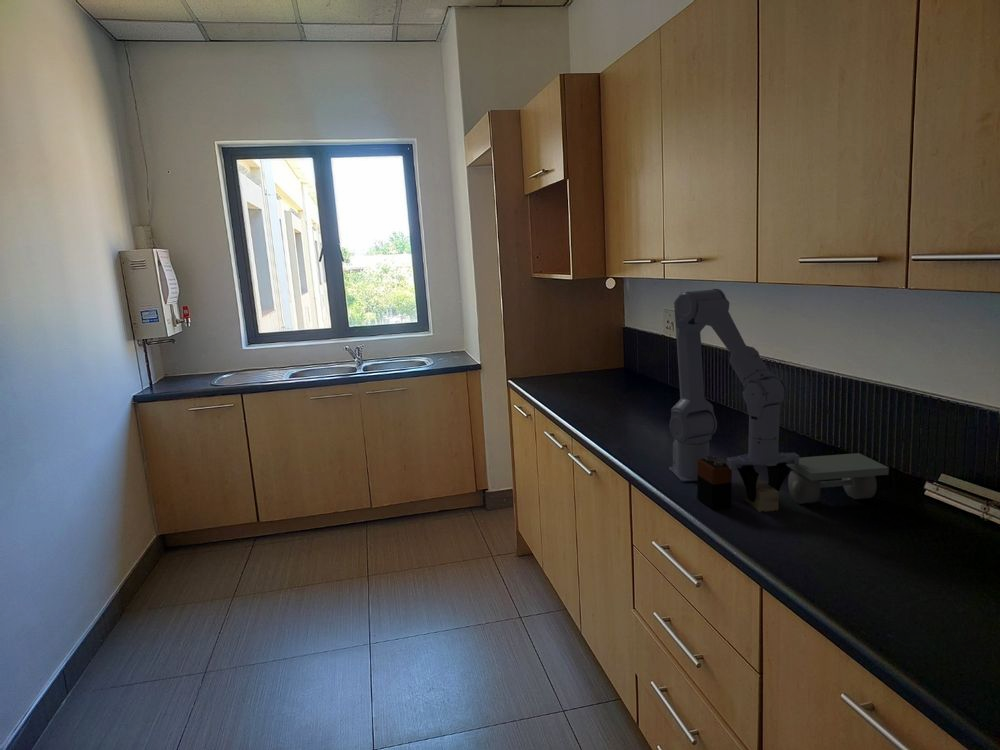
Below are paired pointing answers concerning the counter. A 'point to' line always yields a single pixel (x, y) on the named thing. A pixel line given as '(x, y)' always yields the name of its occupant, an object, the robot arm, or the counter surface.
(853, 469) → the trolley
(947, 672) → the counter surface
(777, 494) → the chock
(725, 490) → the battery
